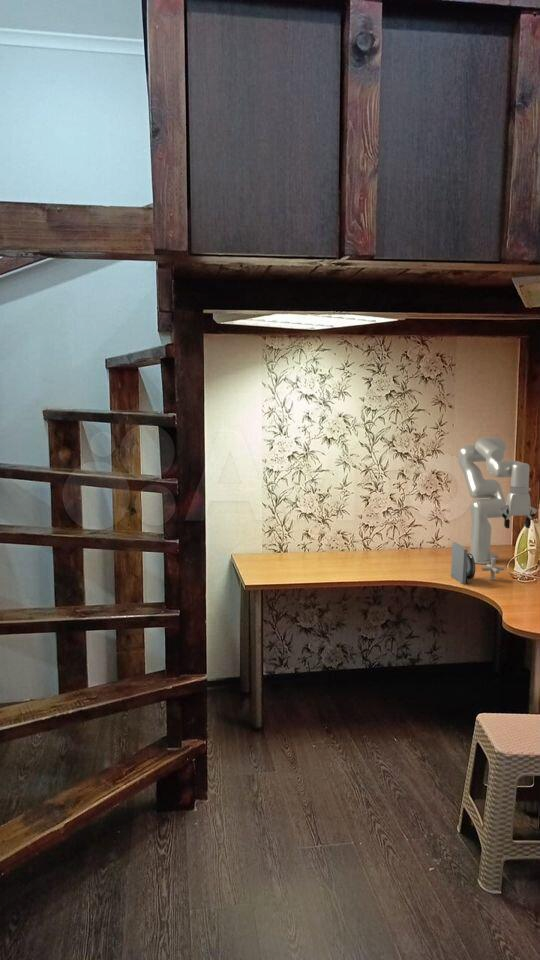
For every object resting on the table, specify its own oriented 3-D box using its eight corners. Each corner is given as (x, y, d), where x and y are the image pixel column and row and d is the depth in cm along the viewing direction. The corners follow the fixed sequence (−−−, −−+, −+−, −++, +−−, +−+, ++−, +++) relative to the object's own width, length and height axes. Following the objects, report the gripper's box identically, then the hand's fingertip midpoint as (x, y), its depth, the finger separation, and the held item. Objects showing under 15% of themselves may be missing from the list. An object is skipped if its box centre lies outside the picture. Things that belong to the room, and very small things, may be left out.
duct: (463, 574, 303) (465, 550, 301) (474, 582, 292) (476, 556, 290) (454, 575, 302) (455, 550, 301) (465, 582, 291) (466, 557, 289)
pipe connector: (477, 576, 303) (478, 555, 302) (498, 576, 304) (499, 555, 303) (486, 582, 293) (487, 561, 292) (507, 582, 294) (509, 560, 293)
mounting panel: (462, 575, 304) (464, 542, 301) (474, 584, 291) (476, 549, 289) (450, 576, 303) (452, 542, 301) (462, 584, 290) (464, 549, 288)
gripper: (533, 489, 299) (531, 525, 301) (497, 489, 297) (495, 526, 300) (541, 491, 292) (539, 529, 294) (504, 491, 290) (502, 529, 292)
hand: (517, 527), depth 297 cm, fingers open, 9 cm apart
